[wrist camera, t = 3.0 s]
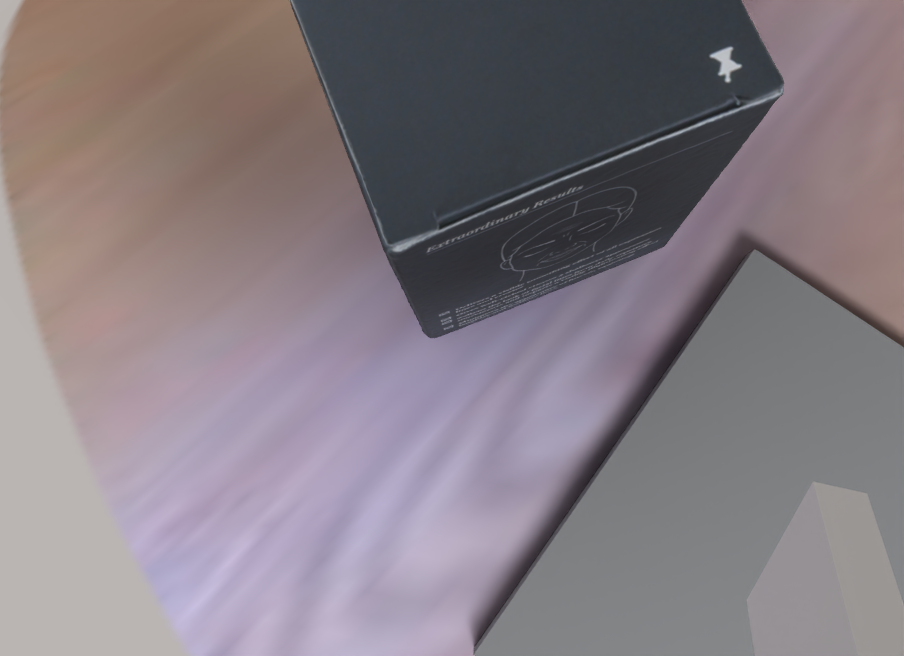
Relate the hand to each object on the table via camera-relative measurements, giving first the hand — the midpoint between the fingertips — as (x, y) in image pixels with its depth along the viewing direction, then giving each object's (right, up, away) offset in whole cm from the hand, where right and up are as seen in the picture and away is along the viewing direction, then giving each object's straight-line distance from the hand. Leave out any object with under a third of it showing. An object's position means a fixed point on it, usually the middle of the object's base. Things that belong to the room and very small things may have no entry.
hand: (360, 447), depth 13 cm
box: (+3, +5, +13) cm, 14 cm away
